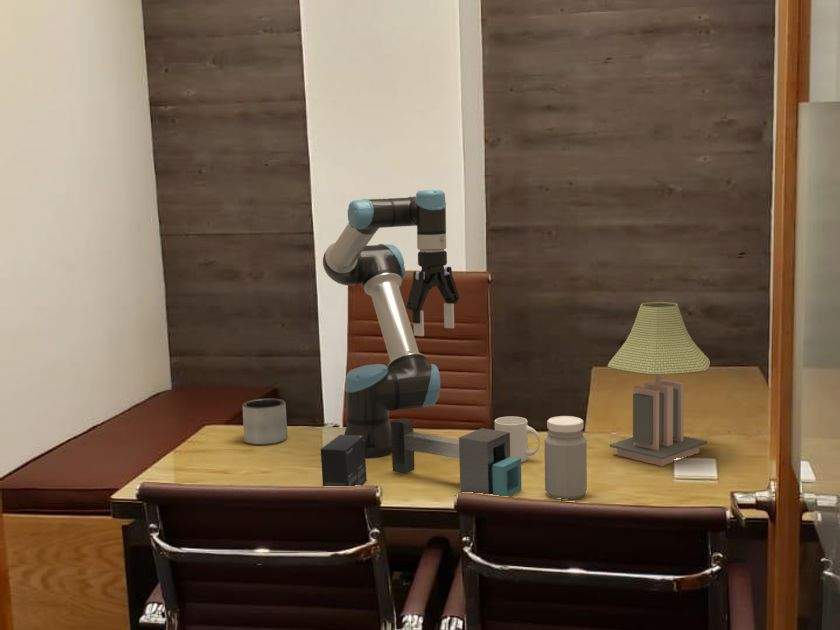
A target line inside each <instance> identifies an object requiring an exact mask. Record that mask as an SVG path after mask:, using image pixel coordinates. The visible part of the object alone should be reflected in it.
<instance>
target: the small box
mask: <svg viewBox="0 0 840 630" xmlns="http://www.w3.org/2000/svg"><path fill="white" fill-rule="evenodd" d="M320 457H321V458H320V462H321V475H322V487H323V486H355V485H362V486H363V485H364V484H365V483H366V482H368V481H367V479H368V478H367V477H368V476H367V465H366V464H367V463H366V458H365V443H364V436H360V435H344V434H339V435H337V436H336V437H335V438H334V439H333V440H331V441H329V442H328V443H327V444H326V445H324V446H323V447H322V448H320Z"/></svg>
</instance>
